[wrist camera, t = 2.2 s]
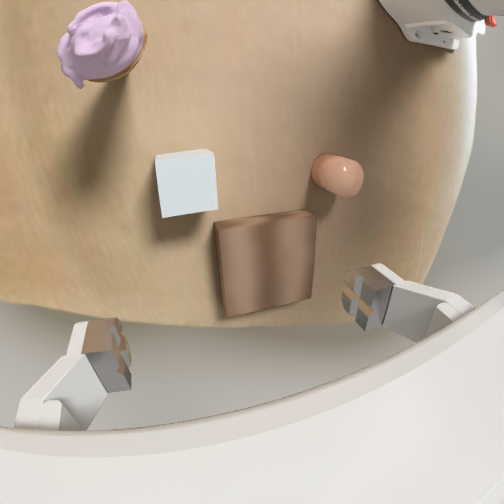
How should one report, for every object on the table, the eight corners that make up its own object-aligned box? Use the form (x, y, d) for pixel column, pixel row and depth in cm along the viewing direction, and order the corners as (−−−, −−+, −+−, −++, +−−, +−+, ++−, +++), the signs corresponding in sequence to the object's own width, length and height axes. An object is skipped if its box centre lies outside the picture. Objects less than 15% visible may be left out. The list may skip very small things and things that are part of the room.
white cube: (205, 148, 30) (214, 153, 25) (209, 195, 33) (218, 209, 28) (155, 155, 29) (154, 161, 24) (161, 202, 31) (162, 217, 27)
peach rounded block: (341, 153, 35) (364, 159, 31) (340, 186, 37) (362, 196, 33) (311, 153, 34) (332, 159, 30) (310, 189, 36) (331, 199, 32)
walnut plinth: (305, 209, 37) (316, 216, 34) (301, 287, 42) (311, 298, 40) (213, 222, 34) (218, 231, 31) (222, 304, 39) (227, 317, 37)
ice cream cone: (122, 109, 25) (88, 98, 12) (80, 82, 22) (21, 56, 9) (161, 61, 24) (163, 11, 11) (119, 34, 21) (93, -27, 8)
